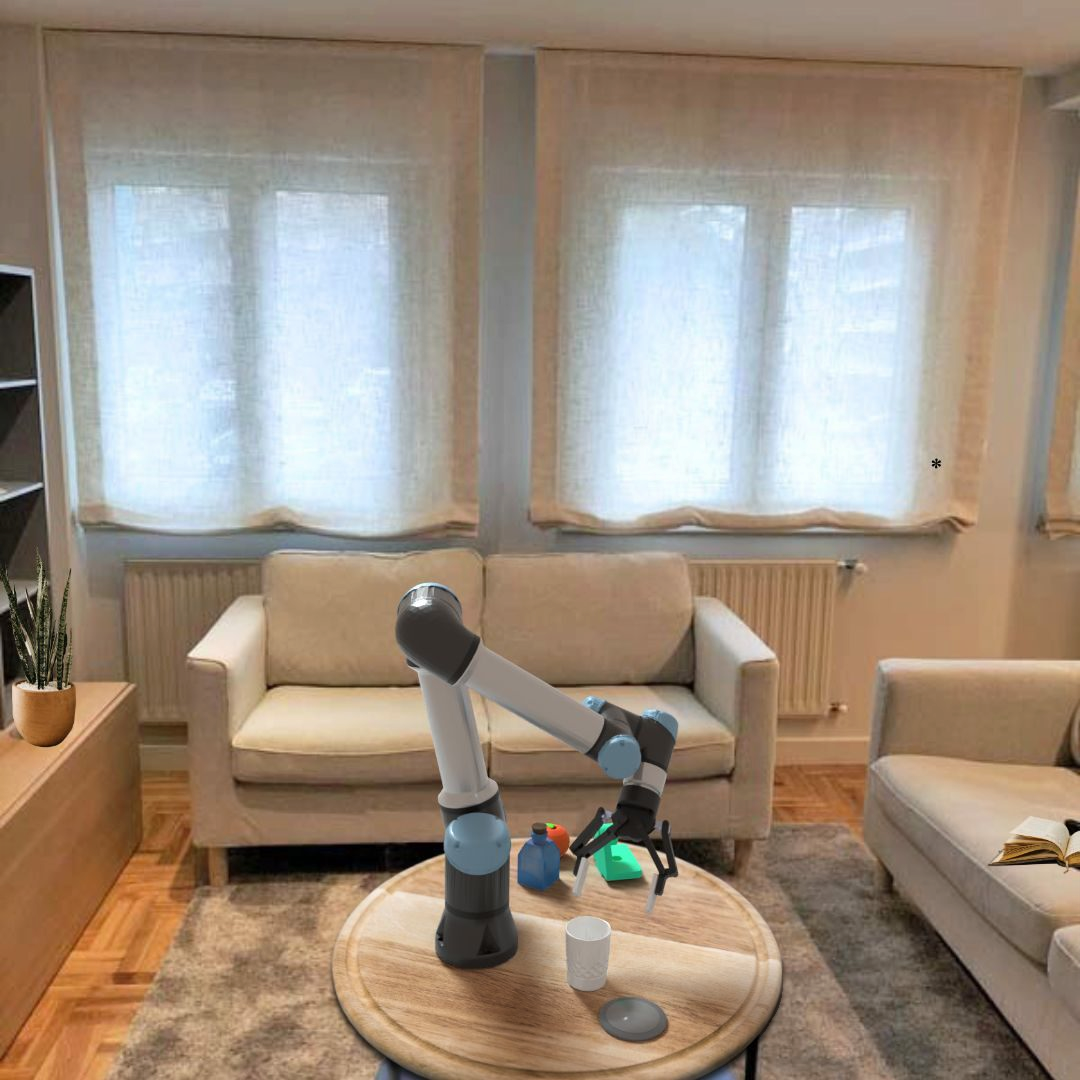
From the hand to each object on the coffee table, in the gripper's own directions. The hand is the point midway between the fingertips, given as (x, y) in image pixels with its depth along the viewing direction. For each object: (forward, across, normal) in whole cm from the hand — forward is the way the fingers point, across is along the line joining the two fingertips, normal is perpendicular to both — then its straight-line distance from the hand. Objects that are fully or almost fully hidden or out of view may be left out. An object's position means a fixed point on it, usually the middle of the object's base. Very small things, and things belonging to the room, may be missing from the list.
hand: (611, 903), depth 201 cm
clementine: (-14, +25, -31) cm, 42 cm away
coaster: (+18, -9, +3) cm, 21 cm away
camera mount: (-14, +10, -31) cm, 36 cm away
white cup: (+13, +2, -3) cm, 14 cm away
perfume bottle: (-6, +23, -23) cm, 33 cm away
